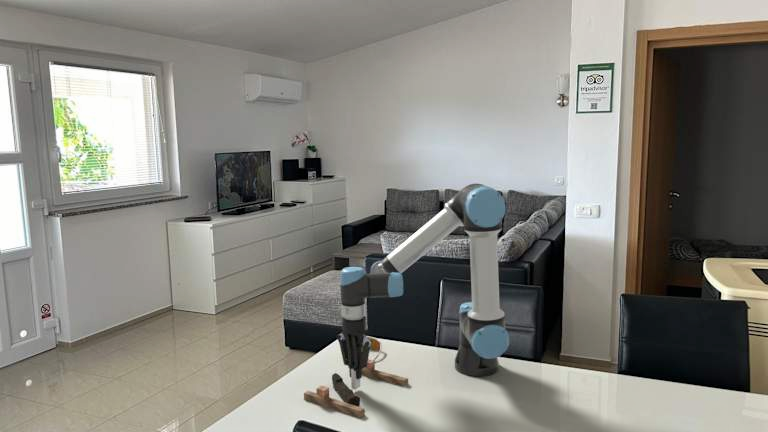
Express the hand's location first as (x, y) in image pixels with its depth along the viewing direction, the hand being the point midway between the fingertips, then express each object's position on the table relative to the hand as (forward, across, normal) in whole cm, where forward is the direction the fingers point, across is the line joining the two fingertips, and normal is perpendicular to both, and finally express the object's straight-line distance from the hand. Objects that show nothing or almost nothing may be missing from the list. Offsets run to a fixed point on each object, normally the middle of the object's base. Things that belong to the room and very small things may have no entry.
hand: (356, 387), depth 183 cm
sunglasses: (+2, -16, +25) cm, 30 cm away
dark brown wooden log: (+2, -2, -5) cm, 6 cm away
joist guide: (+1, +1, 0) cm, 1 cm away
